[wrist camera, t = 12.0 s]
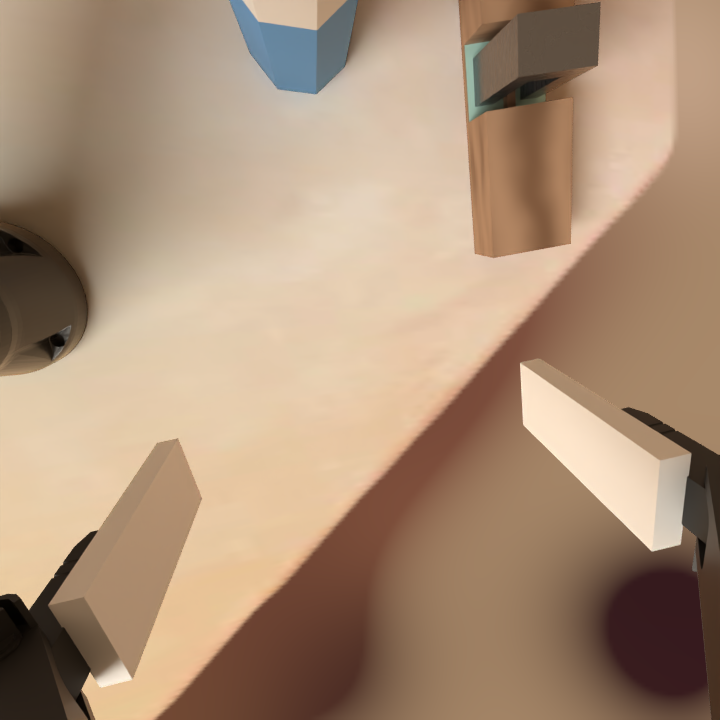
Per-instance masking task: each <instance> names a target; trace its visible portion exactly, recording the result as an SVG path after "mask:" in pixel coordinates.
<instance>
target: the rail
mask: <svg viewBox="0 0 720 720" xmlns="http://www.w3.org/2000/svg"><path fill="white" fill-rule="evenodd" d="M570 6H574V0H459V14H460V30H461V45H462V61H463V77H464V92H465V108H466V123H467V139H468V154H469V170H470V185H471V201H472V216H473V232H474V247H475V254H479V255H483V256H488V257H492V258H495V257H501V256H506V255H512V254H517V253H522V252H528V251H533V250H539V249H544V248H550V247H555V246H561V245H566V244H571V193H572V126H573V97H571V98H565V99H559V100H553V101H547V102H546V94H544V95H542V96H540V97H538V98H532V99H525V100H520V87H519V88H518V89H516V90H515V91H513V92H512V93H510V94H508V95H507V96H505V97H504V98H502V99H501V100H499V101H497V102H496V103H494V104H492V105H485V106H479V107H475V95H474V74H473V58H474V57H475V56H476V55H477V54H478V53H479V52H480V51H481V50H482V49H483V48H484V47H485V46H486V45H487V44H488V43H489V42H490V41H491V40H492V39H493V38H494V37H495V36H496V35H497V34H498V33H499V32H500V31H501V30H502V29H503V28H504V27H505V26H506V25H507V24H508V23H509V22H510V21H511V20H512V19H513V18H514V17H515V16H516V15H517V14H520V13H527V12H534V11H541V10H548V9H556V8H563V7H570Z"/></svg>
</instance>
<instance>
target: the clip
mask: <svg viewBox="0 0 720 720" xmlns="http://www.w3.org/2000/svg"><path fill="white" fill-rule="evenodd" d="M599 25H600V2H598V3H591V4H584V5H577V6H570V7H563V8H556V9H548V10H541V11H534V12H527V13H520V14H517V15H516V16H515V17H514V18H513V19H512V20H511V21H510V22H509V23H508V24H507V25H506V26H505V27H504V28H503V29H502V30H501V31H500V32H499V33H498V34H497V35H496V36H495V37H494V38H493V39H492V40H491V41H490V42H489V43H488V44H487V45H486V46H485V47H484V48H483V49H482V50H481V51H480V52H479V53H478V54H477V55H476V56H475V57H474V58H473V74H474V95H475V107H479V106H485V105H492V104H494V103H496V102H497V101H499V100H501V99H502V98H504V97H505V96H507V95H508V94H510V93H512V92H513V91H515V90H516V89H518V88H519V87H520V100H525V99H532V98H538V97H540V96H542V95H544V94H546V93H547V92H549V91H551V90H553V89H555V88H557V87H559V86H560V85H562V84H564V83H566V82H568V81H570V80H572V79H573V78H575V77H577V76H579V75H581V74H583V73H585V72H586V71H588V70H590V69H592V68H594V67H596V66H598V49H599Z"/></svg>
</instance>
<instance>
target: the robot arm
mask: <svg viewBox="0 0 720 720" xmlns="http://www.w3.org/2000/svg"><path fill="white" fill-rule="evenodd" d="M86 321H87V303H86V298H85V294H84V290H83V288H82V285H81V283H80V280H79V279H78V277H77V275H76V273H75V271H74V270H73V268H72V267H71V266H70V264H69V263H68V262H67V260H66V259H65V258H64V257H63V256H62V255H61V254H60V253H59V252H58V251H57V250H56V249H55V248H54V247H52V246H51V245H50V244H49V243H47V242H46V241H45V240H43V239H42V238H40V237H38V236H37V235H35V234H33V233H31V232H29V231H27V230H25V229H23V228H20V227H17V226H15V225H11V224H8V223H3V222H0V376H10V375H21V374H26V373H31V372H34V371H37V370H40V369H43V368H45V367H47V366H49V365H51V364H53V363H55V362H56V361H58V360H60V359H62V358H63V357H65V356H66V355H67V354H68V353H70V352H71V351H72V350H73V349H74V347H75V346H76V345H77V344H78V342H79V341H80V339H81V337H82V335H83V332H84V329H85V326H86ZM520 370H521V388H522V389H521V390H522V410H523V425H524V426H525V427H526V428H527V429H528V430H529V431H530V432H531V433H532V434H533V435H534V436H535V437H536V438H537V439H538V440H539V441H540V442H541V443H542V444H543V445H544V446H545V447H546V448H547V449H548V450H549V451H550V452H551V453H552V454H553V455H554V456H555V457H556V458H557V459H559V461H561V462H562V463H563V464H564V465H565V466H566V467H567V468H568V469H569V470H570V471H571V472H572V473H573V474H574V475H575V476H576V477H577V478H578V479H579V480H580V481H581V482H582V483H583V484H584V485H585V486H586V487H587V488H588V489H589V490H590V491H591V492H592V493H593V494H594V495H595V496H596V497H597V498H598V499H599V500H600V501H601V502H602V503H603V504H604V505H605V506H606V507H607V508H608V509H609V510H610V511H611V512H612V513H613V514H614V515H615V516H616V517H618V518H619V519H620V520H621V521H622V522H623V523H624V524H625V525H626V526H627V527H628V528H629V529H630V530H631V531H632V532H633V533H634V534H635V535H636V536H637V537H638V538H639V539H640V540H641V541H642V542H643V543H644V544H645V545H646V546H647V547H648V548H649V549H650V550H651V551H656V550H660V549H664V548H668V547H672V546H676V545H680V544H681V536H682V528H683V526H685V527H686V528H687V529H688V530H689V531H691V532H692V533H693V534H694V535H695V536H697V539H696V546H695V553H694V560H693V567H692V570H693V571H695V572H698V583H699V593H700V603H701V615H702V625H703V636H704V647H705V657H706V668H707V678H708V689H709V700H710V710H711V720H720V455H718V454H716V453H714V452H713V451H711V450H709V449H707V448H706V447H704V446H702V445H701V444H699V443H697V442H696V441H694V440H692V439H691V438H689V437H687V436H685V435H684V434H682V433H680V432H678V431H675V430H674V429H673V428H672V427H670V426H668V425H666V424H663V422H661V421H660V420H658V419H656V418H655V417H653V416H651V415H650V414H648V413H645V412H642V411H639V410H635V409H632V408H624V409H620V408H618V407H616V406H615V405H613V404H612V403H610V402H608V401H607V400H605V399H604V398H602V397H600V396H599V395H597V394H596V393H594V392H592V391H591V390H589V389H587V388H586V387H584V386H583V385H581V384H580V383H578V382H576V381H575V380H573V379H572V378H570V377H568V376H567V375H565V374H564V373H562V372H560V371H559V370H557V369H555V368H554V367H552V366H551V365H549V364H547V363H546V362H544V361H543V360H541V359H535V360H530V361H526V362H521V363H520ZM201 500H202V497H201V495H200V492H199V490H198V487H197V485H196V482H195V480H194V477H193V475H192V472H191V470H190V467H189V465H188V462H187V460H186V457H185V455H184V452H183V450H182V447H181V445H180V442H179V440H178V439H173V440H169V441H164V442H160V443H157V444H156V446H155V447H154V449H153V450H152V452H151V453H150V455H149V456H148V458H147V459H146V461H145V462H144V463H143V465H142V466H141V468H140V469H139V471H138V472H137V474H136V475H135V477H134V478H133V480H132V481H131V483H130V484H129V486H128V487H127V489H126V490H125V492H124V493H123V495H122V496H121V498H120V499H119V501H118V502H117V504H116V505H115V507H114V508H113V510H112V511H111V513H110V514H109V516H108V517H107V518H106V520H105V521H104V523H103V524H102V526H101V527H100V529H99V530H97V531H93V532H90V533H89V534H88V535H87V536H86V537H85V538H84V539H82V540H81V541H80V542H79V543H78V544H77V545H76V546H75V547H74V548H73V549H72V551H71V552H70V554H69V555H68V556H67V558H66V559H65V561H64V562H63V565H61V566H60V568H59V569H58V570H57V572H56V573H55V575H54V578H52V579H51V580H50V582H49V583H48V584H47V586H46V587H45V589H44V590H43V591H42V593H41V594H40V596H39V597H38V598H37V600H36V601H35V603H34V604H33V606H32V607H31V608H30V610H28V609H27V607H26V606H25V604H24V603H23V601H22V600H21V598H20V597H19V596H18V595H17V594H6V595H2V596H0V720H95V718H94V715H93V713H92V710H91V707H90V705H89V702H88V699H87V697H86V696H85V694H84V693H83V691H82V690H81V689H82V687H83V685H84V683H85V681H86V679H87V677H88V675H89V673H90V672H91V674H92V675H93V677H94V678H95V680H96V682H97V683H98V685H99V686H100V688H101V687H105V686H109V685H113V684H117V683H121V682H125V681H129V680H133V677H134V675H135V672H136V669H137V667H138V664H139V662H140V659H141V656H142V654H143V651H144V648H145V646H146V643H147V641H148V638H149V635H150V633H151V630H152V628H153V625H154V622H155V620H156V617H157V615H158V612H159V609H160V607H161V604H162V601H163V599H164V596H165V594H166V591H167V588H168V586H169V583H170V581H171V578H172V575H173V573H174V570H175V568H176V565H177V562H178V560H179V557H180V555H181V552H182V549H183V547H184V544H185V541H186V539H187V536H188V534H189V531H190V528H191V526H192V523H193V521H194V518H195V515H196V513H197V510H198V508H199V505H200V502H201Z"/></svg>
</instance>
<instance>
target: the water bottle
mask: <svg viewBox="0 0 720 720" xmlns="http://www.w3.org/2000/svg"><path fill="white" fill-rule="evenodd" d="M229 1H230V3H231V6H232V8H233V11H234V13H235V16H236V19H237V21H238V24H239V26H240V29H241V31H242V34H243V36H244V39H245V41H246V44H247V47H248V49H249V52H250V54H251V55H252V56H253V58H254V59H255V60H256V62H257V63H258V64H259V65H260V67H261V68H262V69H263V71H264V72H265V73H266V74H267V76H268V77H269V78H270V80H271V81H272V82H273V84H274V85H275V86H276V87H277V89H280V90H288V91H296V92H303V93H311V94H317V93H318V92H319V91H320V90H321V89H322V88H323V87H324V86H325V85H326V84H327V83H328V82H329V81H330V80H331V79H332V78H333V77H334V76H336V75H337V74H338V73H339V72H340V71H341V70H342V69H343V68H344V67H345V63H346V58H347V53H348V48H349V43H350V38H351V33H352V28H353V23H354V18H355V13H356V8H357V2H358V0H229Z"/></svg>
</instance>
